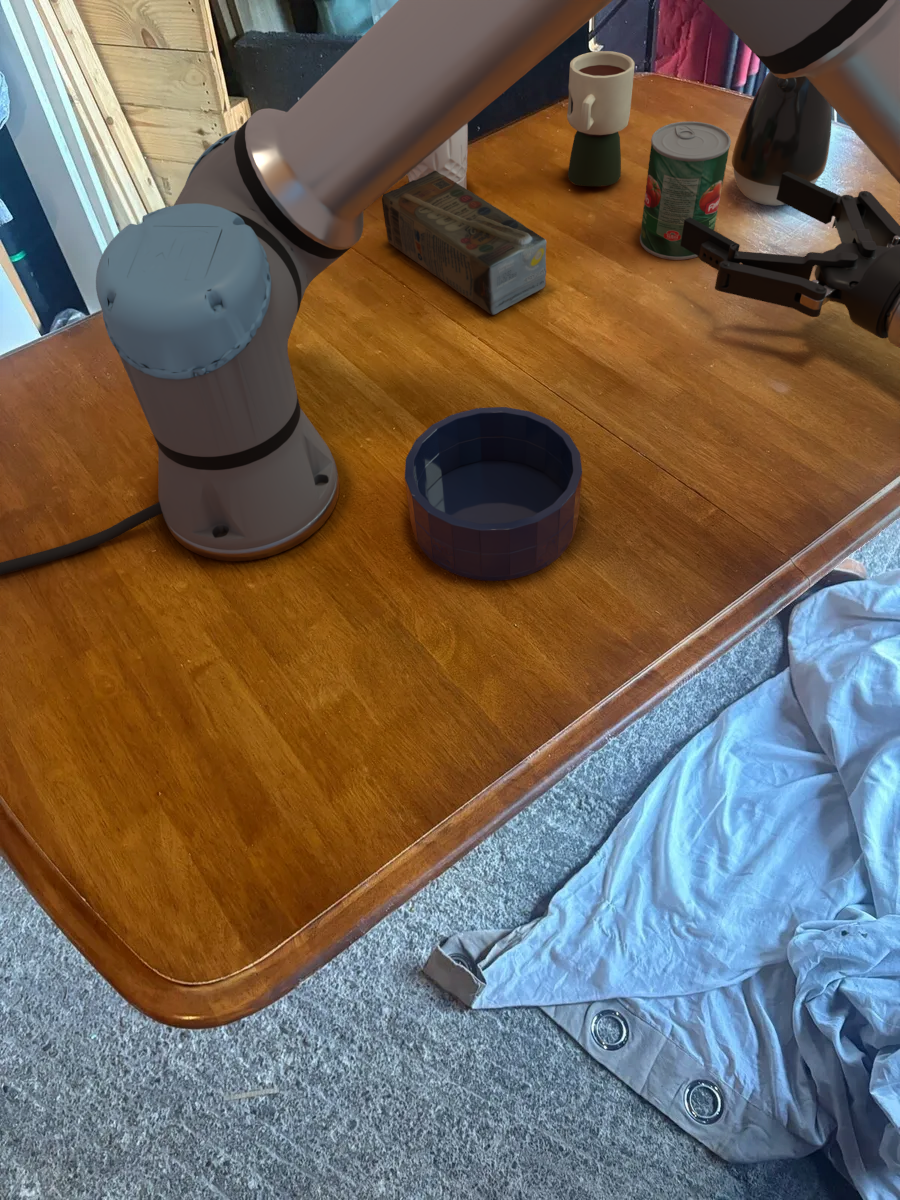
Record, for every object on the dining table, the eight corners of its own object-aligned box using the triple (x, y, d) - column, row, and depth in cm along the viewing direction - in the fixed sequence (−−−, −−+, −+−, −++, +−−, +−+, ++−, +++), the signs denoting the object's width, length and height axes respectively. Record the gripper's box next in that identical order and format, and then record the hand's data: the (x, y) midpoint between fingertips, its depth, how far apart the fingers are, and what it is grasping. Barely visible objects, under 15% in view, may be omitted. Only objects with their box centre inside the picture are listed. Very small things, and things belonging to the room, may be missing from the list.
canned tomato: (722, 254, 96) (742, 152, 88) (651, 264, 96) (665, 162, 87) (698, 217, 101) (715, 116, 93) (630, 226, 101) (641, 126, 92)
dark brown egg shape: (710, 204, 103) (735, 60, 91) (746, 165, 108) (775, 24, 96) (795, 226, 99) (834, 80, 87) (829, 185, 104) (870, 41, 92)
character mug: (580, 155, 112) (586, 40, 101) (635, 163, 110) (647, 47, 99) (550, 197, 106) (554, 80, 96) (608, 207, 104) (618, 88, 93)
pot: (476, 609, 69) (473, 558, 64) (380, 507, 76) (371, 455, 71) (611, 527, 73) (618, 474, 68) (509, 438, 80) (508, 385, 76)
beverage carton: (489, 320, 91) (488, 261, 86) (383, 245, 101) (376, 189, 96) (548, 290, 94) (550, 231, 89) (439, 220, 104) (435, 164, 99)
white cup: (464, 212, 105) (460, 124, 97) (399, 208, 106) (390, 121, 98) (476, 178, 110) (473, 92, 102) (414, 175, 111) (406, 90, 103)
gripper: (804, 393, 78) (637, 286, 89) (984, 287, 85) (810, 201, 97) (828, 319, 72) (646, 214, 83) (1019, 212, 80) (829, 130, 91)
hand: (734, 207), depth 90 cm, fingers open, 13 cm apart
